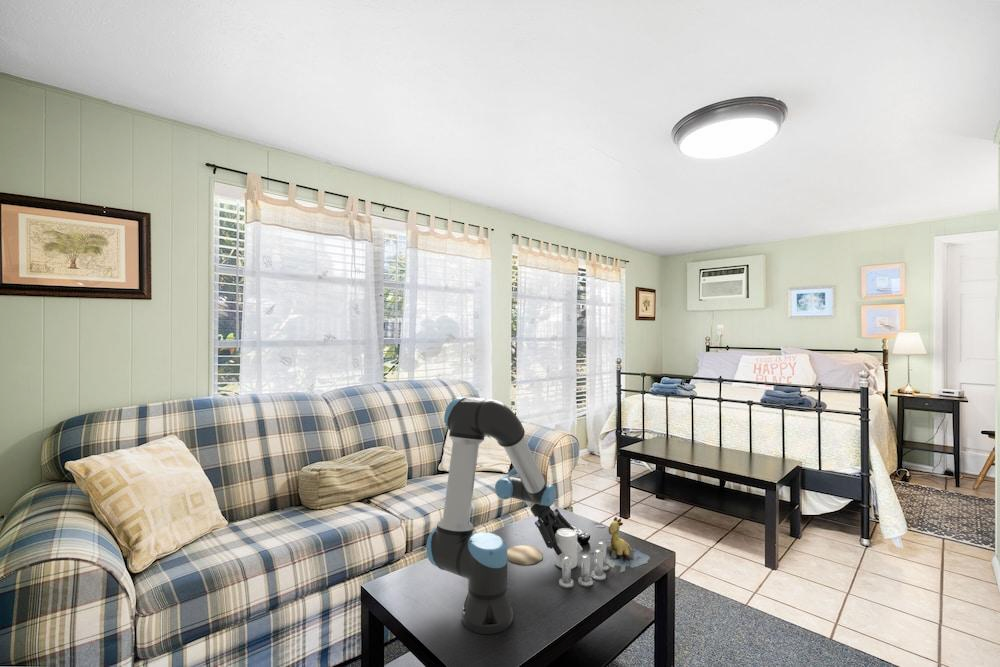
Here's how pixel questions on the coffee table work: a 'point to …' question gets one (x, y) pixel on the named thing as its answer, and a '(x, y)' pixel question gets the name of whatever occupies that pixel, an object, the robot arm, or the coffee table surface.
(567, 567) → the posts
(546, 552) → the coffee table surface
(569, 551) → the beverage can
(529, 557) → the cork coaster
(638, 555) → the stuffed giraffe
